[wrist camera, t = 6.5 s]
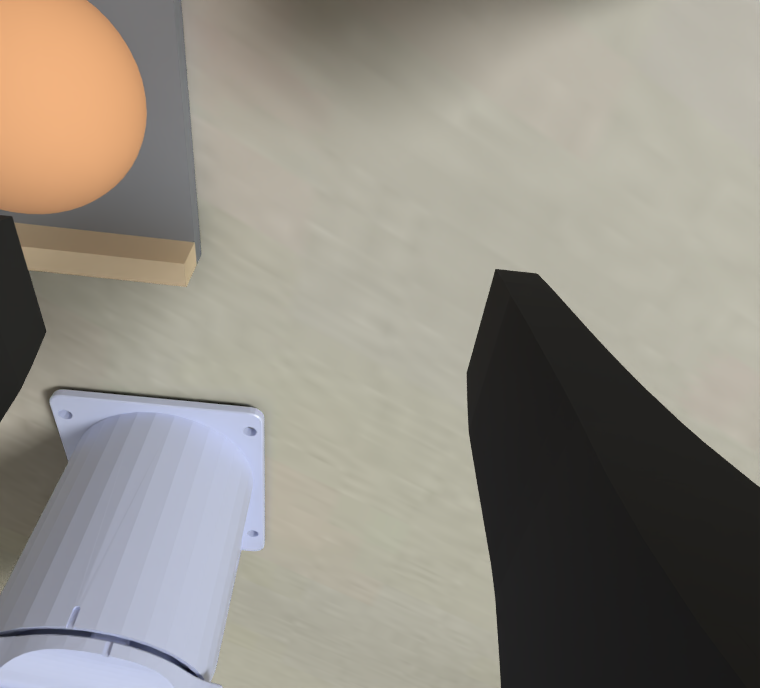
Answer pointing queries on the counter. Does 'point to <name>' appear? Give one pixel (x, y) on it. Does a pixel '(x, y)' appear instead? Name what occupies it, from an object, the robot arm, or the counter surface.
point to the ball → (64, 106)
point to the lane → (135, 174)
